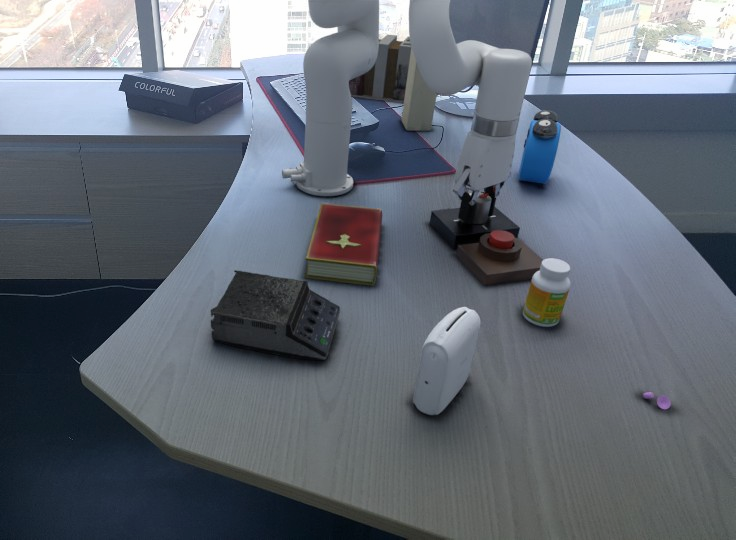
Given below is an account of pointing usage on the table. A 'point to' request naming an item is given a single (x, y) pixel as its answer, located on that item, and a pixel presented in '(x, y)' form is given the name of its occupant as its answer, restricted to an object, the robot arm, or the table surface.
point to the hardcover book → (345, 244)
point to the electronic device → (275, 317)
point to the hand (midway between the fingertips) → (475, 216)
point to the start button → (501, 239)
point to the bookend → (385, 72)
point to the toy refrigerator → (417, 100)
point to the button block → (499, 261)
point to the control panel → (468, 226)
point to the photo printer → (446, 360)
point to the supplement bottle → (547, 293)
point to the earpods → (659, 400)
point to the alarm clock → (540, 148)
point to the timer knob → (482, 208)
